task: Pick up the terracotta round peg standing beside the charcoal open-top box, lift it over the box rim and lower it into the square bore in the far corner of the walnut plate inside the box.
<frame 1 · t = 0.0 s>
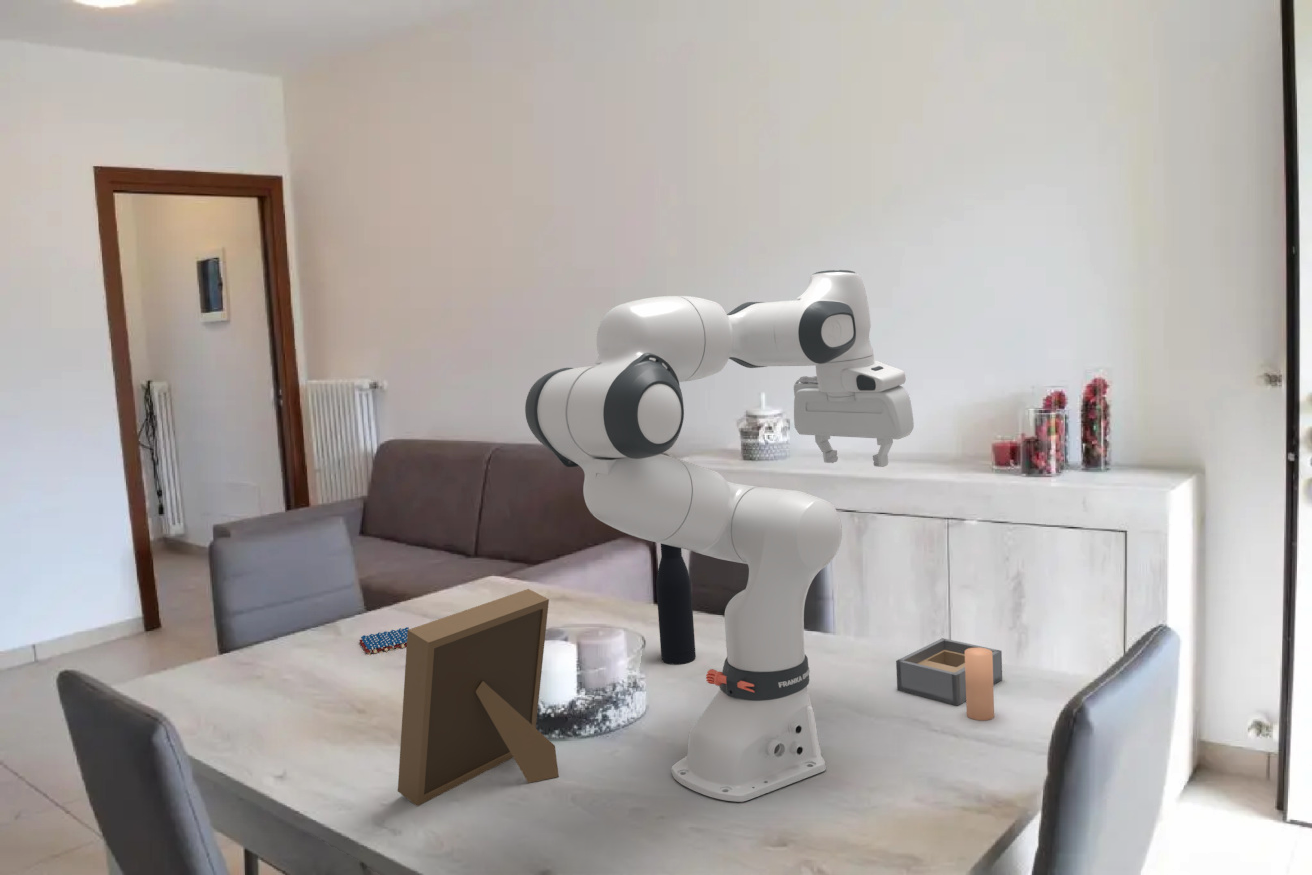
hand: (855, 464, 155), 39 cm above the table, tool pointing down, fingers open, 8 cm apart
black bottle: (678, 659, 187), on the table
woven mat: (388, 647, 209), on the table
bore box: (950, 684, 166), on the table
photo frame: (494, 781, 142), on the table
peg: (980, 715, 153), on the table
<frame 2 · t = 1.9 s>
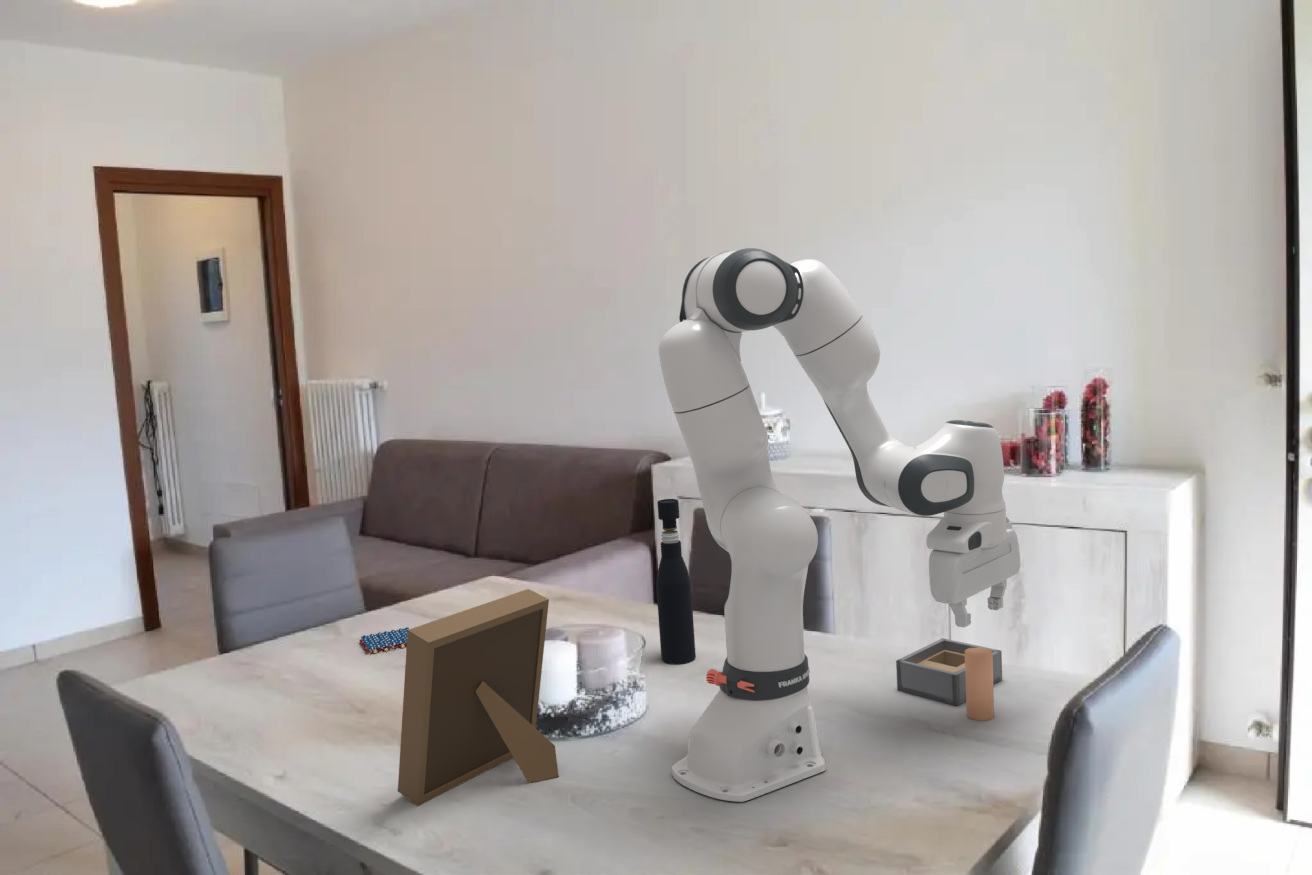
hand: (979, 617, 151), 15 cm above the table, tool pointing down, fingers open, 8 cm apart
nothing on the table moved.
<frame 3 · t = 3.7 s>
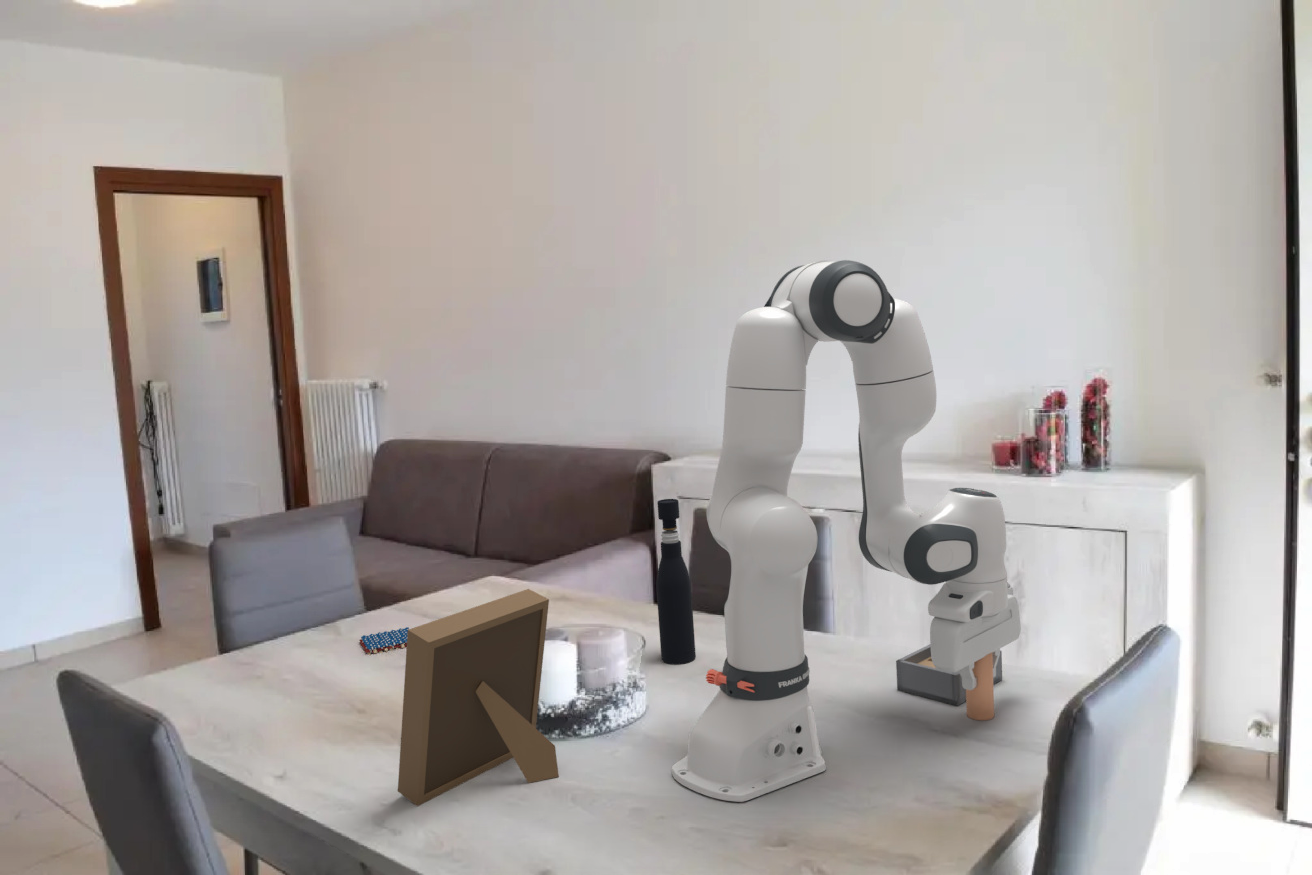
hand: (979, 682, 152), 5 cm above the table, tool pointing down, fingers closed on peg, 4 cm apart
peg: (980, 715, 153), on the table, touching gripper
everything else where it was.
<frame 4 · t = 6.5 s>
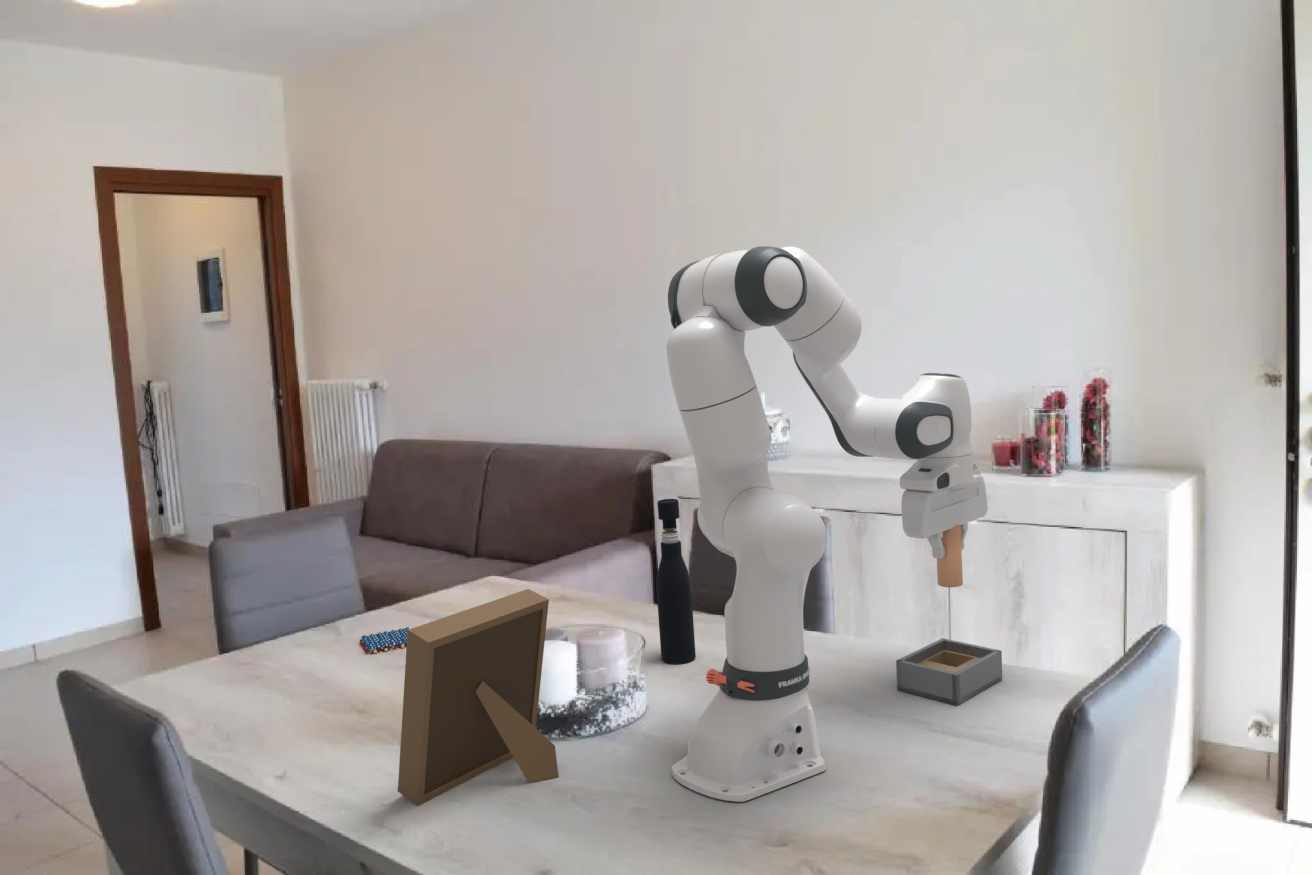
hand: (948, 553, 166), 21 cm above the table, tool pointing down, fingers closed on peg, 4 cm apart
peg: (950, 583, 166), point 16 cm above the table, touching gripper
everything else where it was.
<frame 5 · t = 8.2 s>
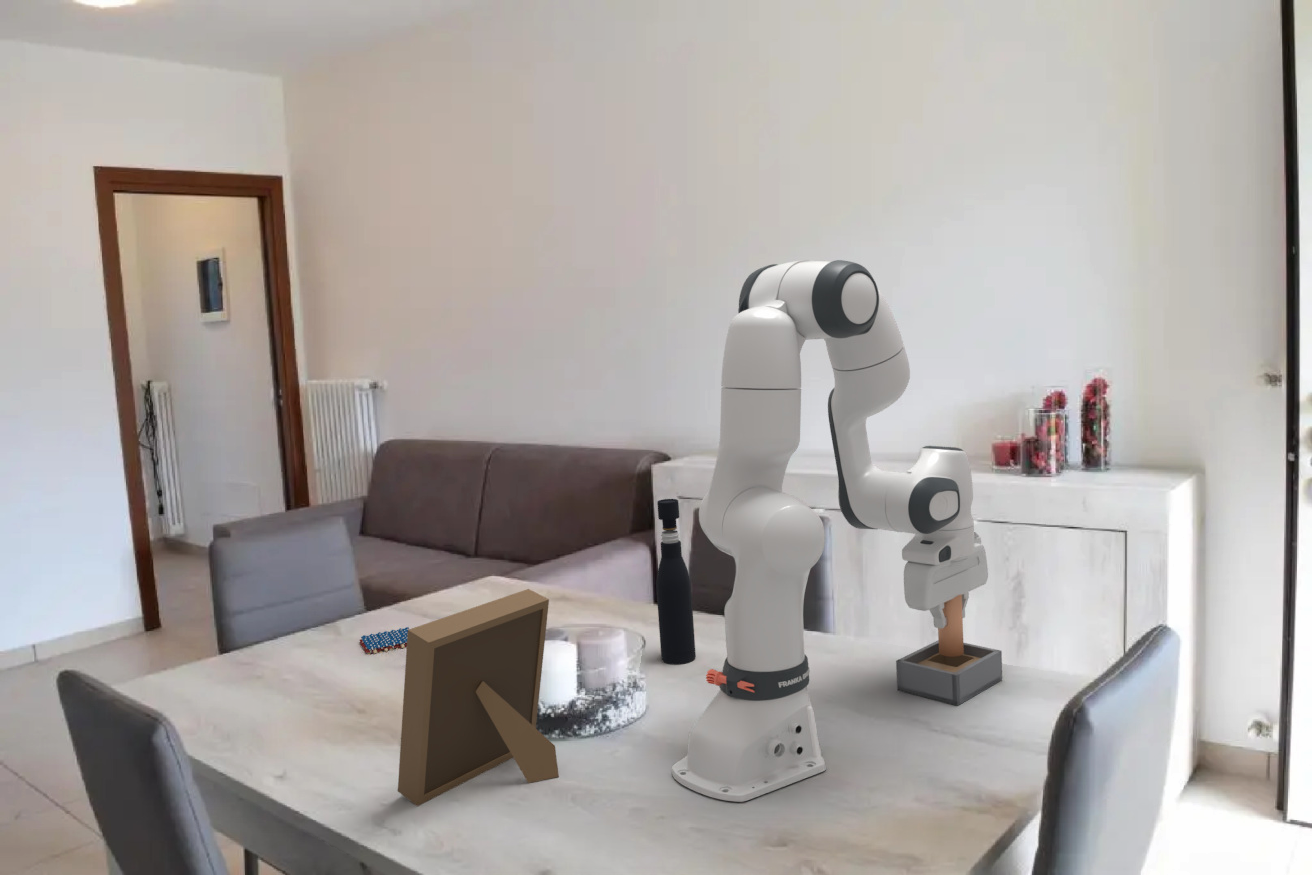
hand: (949, 622, 167), 10 cm above the table, tool pointing down, fingers closed on peg, 4 cm apart
peg: (951, 652, 168), point 4 cm above the table, touching gripper
everything else where it was.
when the fingers open (7 cm above the table, at t = 9.4 s): peg drops 1 cm, resting on bore box.
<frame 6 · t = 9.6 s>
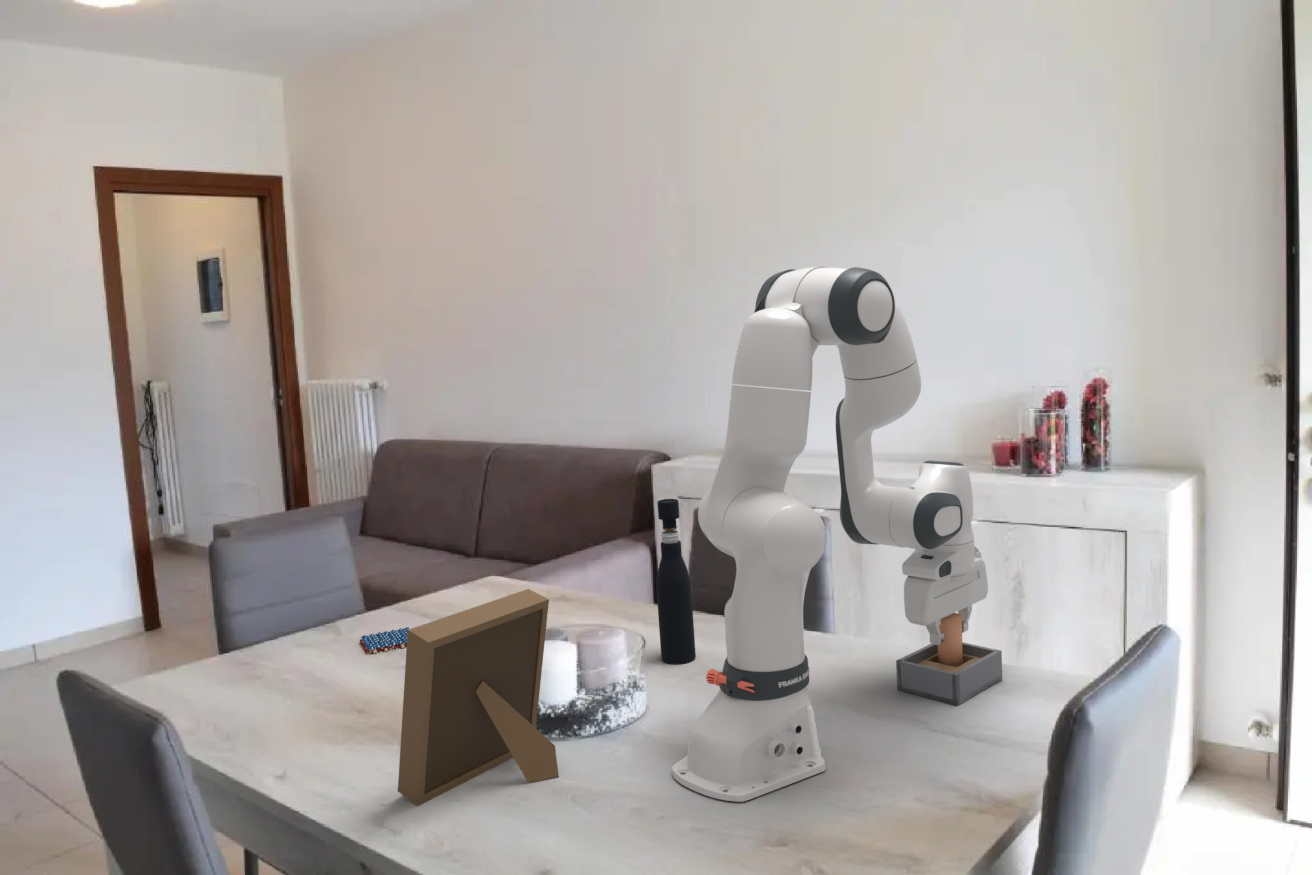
hand: (949, 637, 168), 7 cm above the table, tool pointing down, fingers open, 6 cm apart
peg: (950, 673, 168), point 1 cm above the table, touching bore box
everything else where it was.
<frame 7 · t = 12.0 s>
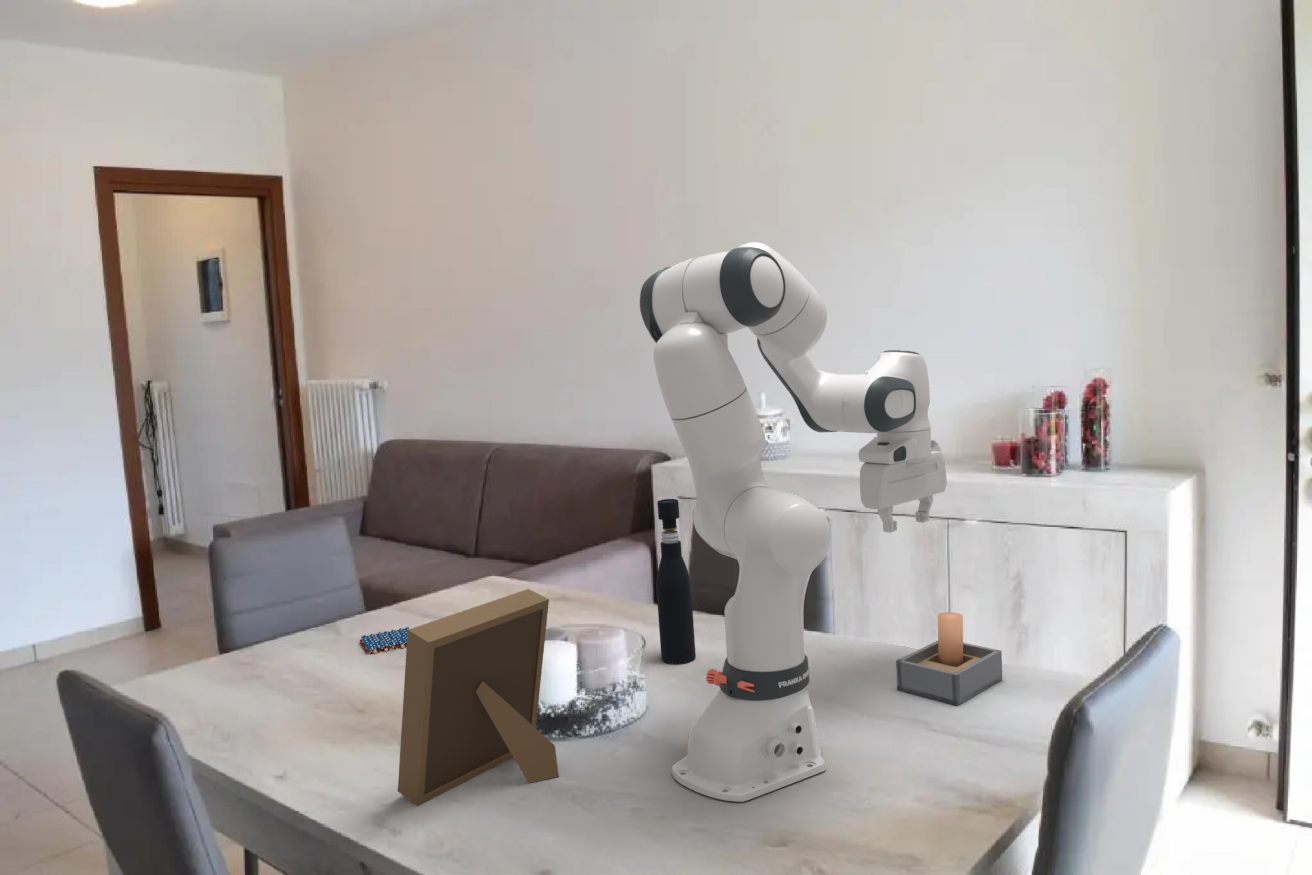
hand: (906, 526, 171), 25 cm above the table, tool pointing down, fingers open, 8 cm apart
nothing on the table moved.
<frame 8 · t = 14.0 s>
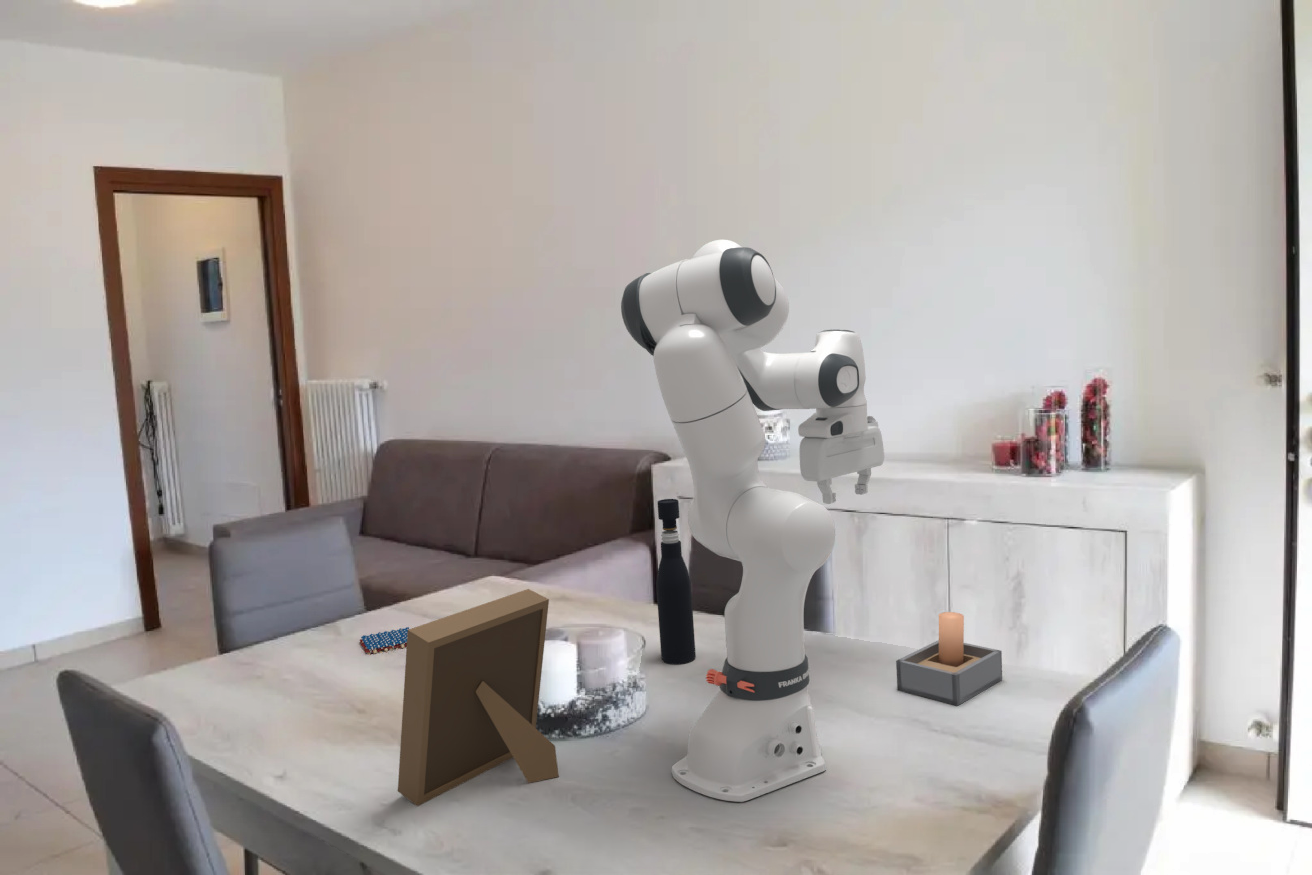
hand: (845, 498, 179), 29 cm above the table, tool pointing down, fingers open, 8 cm apart
nothing on the table moved.
at the end: peg 0.1 cm from the target spot on the bore box, point 0.9 cm above the bore box's base; peg tilted 2°; the gripper is holding nothing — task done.
